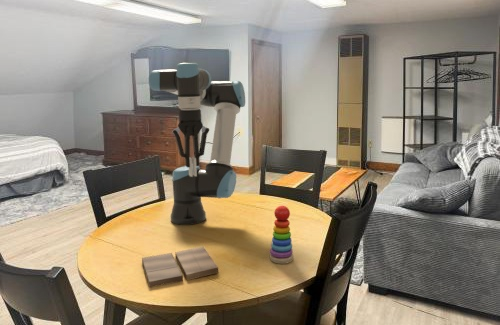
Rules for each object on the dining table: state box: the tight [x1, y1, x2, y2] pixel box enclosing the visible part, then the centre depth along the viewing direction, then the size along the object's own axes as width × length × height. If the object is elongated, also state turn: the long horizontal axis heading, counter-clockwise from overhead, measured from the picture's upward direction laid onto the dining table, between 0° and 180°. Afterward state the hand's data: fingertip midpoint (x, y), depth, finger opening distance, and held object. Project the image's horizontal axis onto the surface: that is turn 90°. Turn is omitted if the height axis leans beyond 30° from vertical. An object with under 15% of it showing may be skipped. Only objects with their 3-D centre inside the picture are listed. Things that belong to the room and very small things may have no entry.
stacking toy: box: [269, 205, 294, 265], centre depth 140 cm, size 8×8×19 cm
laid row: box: [141, 252, 184, 288], centre depth 134 cm, size 18×10×2 cm, turn 21°
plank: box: [175, 246, 219, 281], centre depth 138 cm, size 18×10×2 cm, turn 21°
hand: (192, 175), depth 149 cm, fingers closed
